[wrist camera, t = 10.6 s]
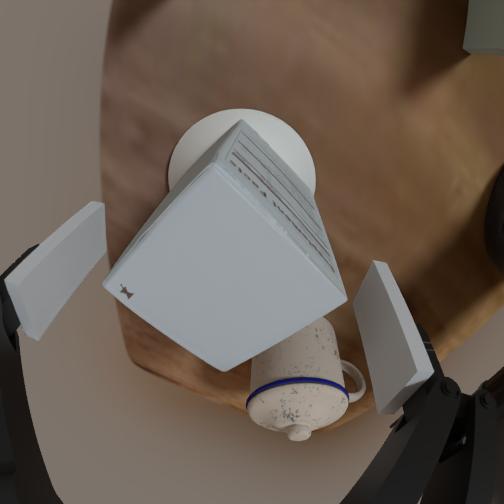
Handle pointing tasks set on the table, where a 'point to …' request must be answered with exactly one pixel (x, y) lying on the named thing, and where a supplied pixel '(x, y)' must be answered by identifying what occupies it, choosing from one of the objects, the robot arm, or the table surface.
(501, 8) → the three-sided green enclosure
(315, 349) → the teacup with lid
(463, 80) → the table surface
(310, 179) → the coaster
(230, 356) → the supplement box
